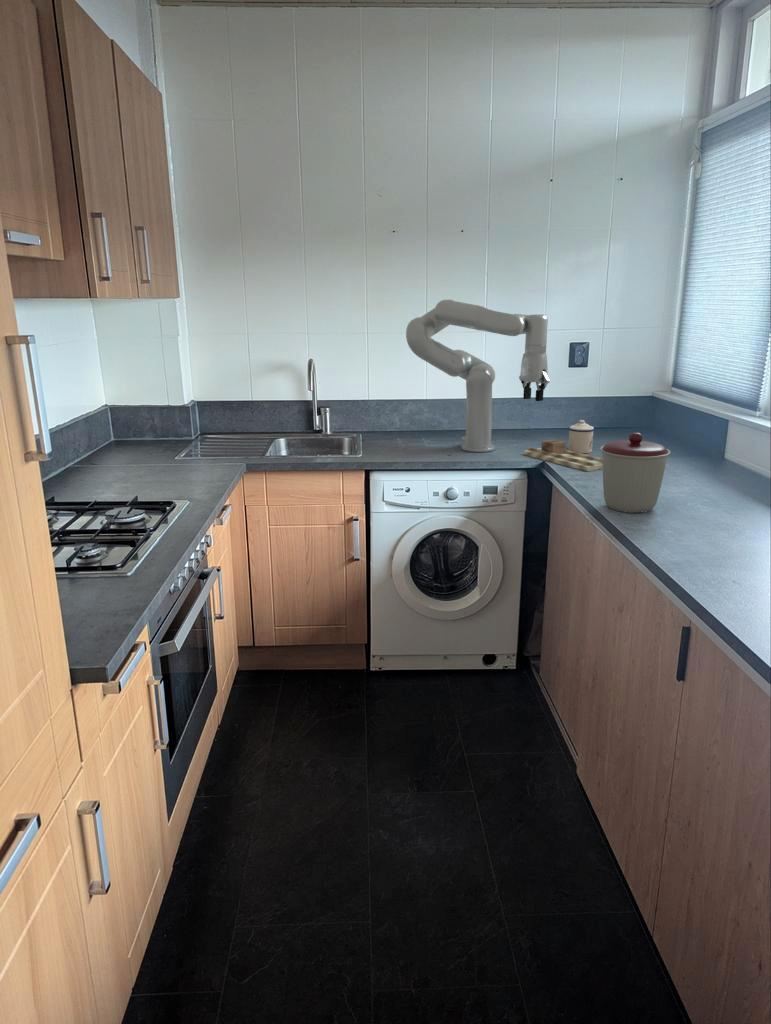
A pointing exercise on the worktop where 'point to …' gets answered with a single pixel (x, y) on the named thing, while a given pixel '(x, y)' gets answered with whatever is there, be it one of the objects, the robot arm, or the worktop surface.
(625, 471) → the canister
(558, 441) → the walnut slider
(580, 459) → the birch rail board
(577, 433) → the teacup with lid
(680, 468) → the worktop surface
